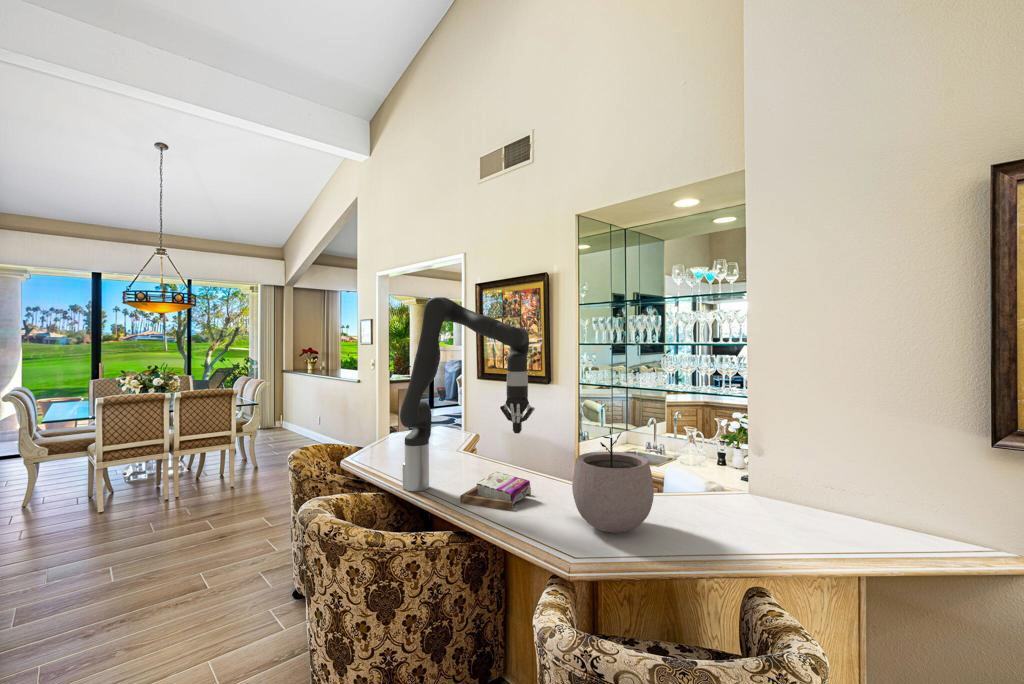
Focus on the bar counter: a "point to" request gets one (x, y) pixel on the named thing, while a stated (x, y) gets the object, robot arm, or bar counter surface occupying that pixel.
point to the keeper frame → (485, 500)
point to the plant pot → (613, 489)
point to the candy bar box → (503, 487)
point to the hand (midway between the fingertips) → (517, 433)
